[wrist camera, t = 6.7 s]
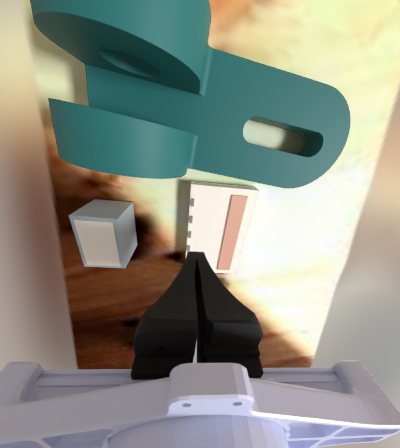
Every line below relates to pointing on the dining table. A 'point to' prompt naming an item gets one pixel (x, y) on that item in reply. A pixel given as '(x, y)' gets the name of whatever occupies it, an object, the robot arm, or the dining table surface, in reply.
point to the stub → (105, 233)
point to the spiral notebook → (219, 222)
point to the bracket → (181, 97)
